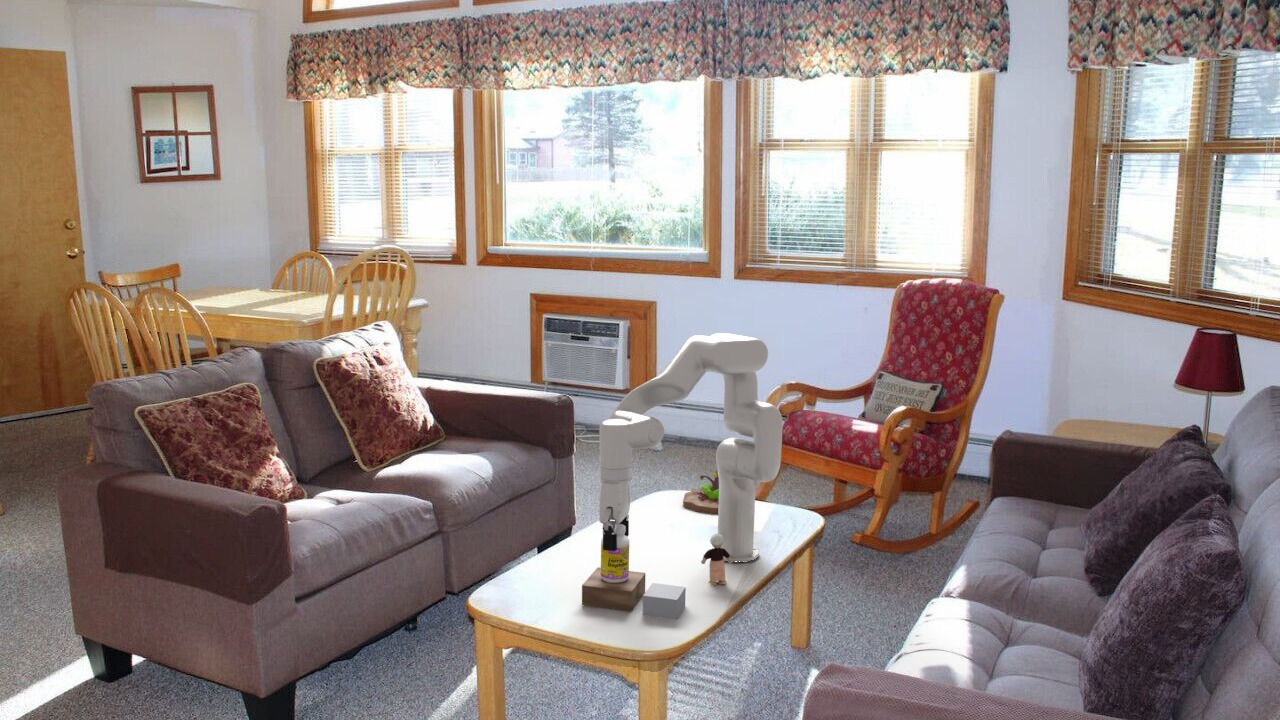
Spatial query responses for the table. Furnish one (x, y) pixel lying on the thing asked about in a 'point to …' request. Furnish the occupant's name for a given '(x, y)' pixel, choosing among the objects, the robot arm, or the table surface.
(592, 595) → the walnut block
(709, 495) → the plant
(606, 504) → the robot arm
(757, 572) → the table surface
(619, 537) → the supplement bottle
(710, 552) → the grandmother figurine
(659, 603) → the grey block
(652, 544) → the table surface
